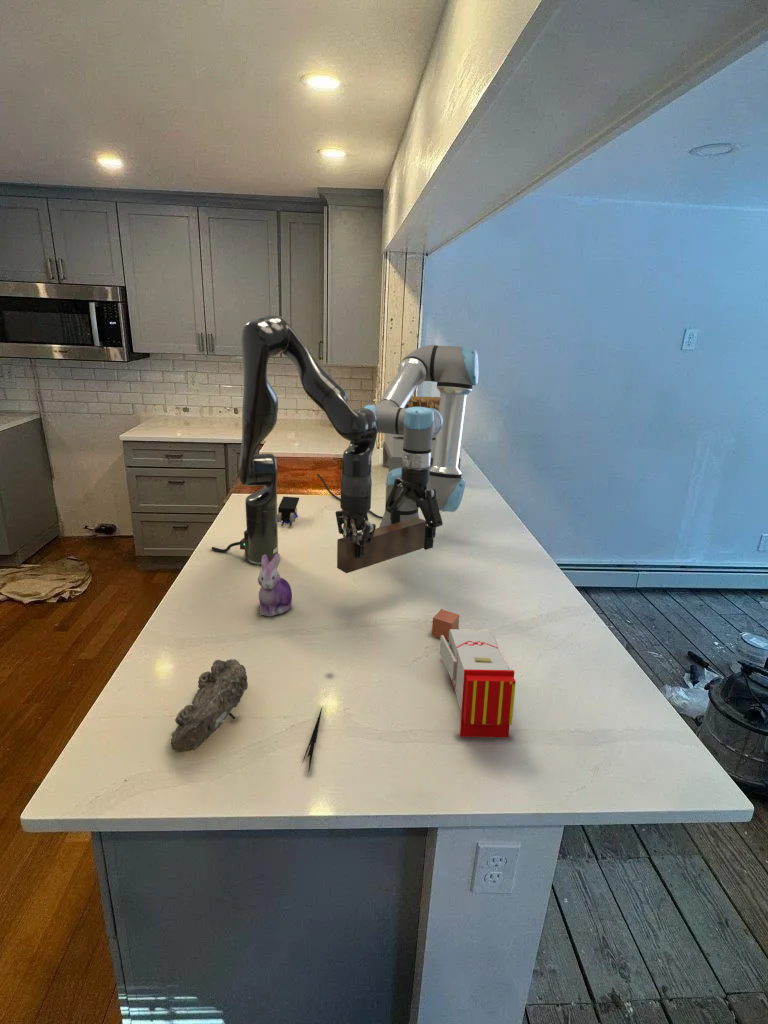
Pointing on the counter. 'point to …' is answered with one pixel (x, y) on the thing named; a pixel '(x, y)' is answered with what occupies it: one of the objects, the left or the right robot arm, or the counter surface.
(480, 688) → the toy
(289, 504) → the figurine character
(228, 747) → the counter surface
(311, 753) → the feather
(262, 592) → the figurine
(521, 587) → the counter surface
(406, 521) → the plank
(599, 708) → the counter surface
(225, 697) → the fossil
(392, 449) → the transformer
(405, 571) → the counter surface
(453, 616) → the terracotta block
